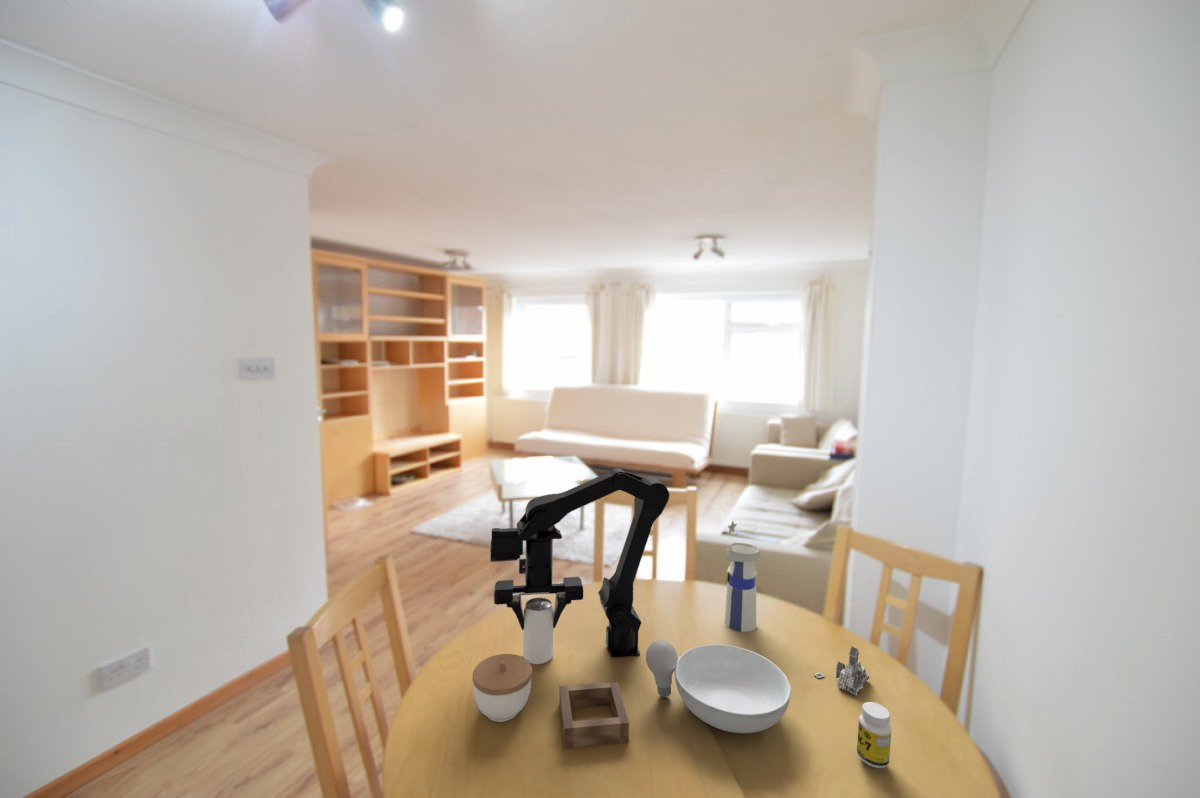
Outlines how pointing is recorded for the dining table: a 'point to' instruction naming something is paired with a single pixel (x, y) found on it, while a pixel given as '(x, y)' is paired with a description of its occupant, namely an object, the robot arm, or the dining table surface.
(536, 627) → the can
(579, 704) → the sleeve block
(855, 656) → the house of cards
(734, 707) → the serving bowl
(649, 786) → the dining table surface
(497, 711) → the lidded jar
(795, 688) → the dining table surface
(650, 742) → the dining table surface
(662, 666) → the lightbulb
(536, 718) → the dining table surface
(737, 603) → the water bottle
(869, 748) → the supplement bottle
